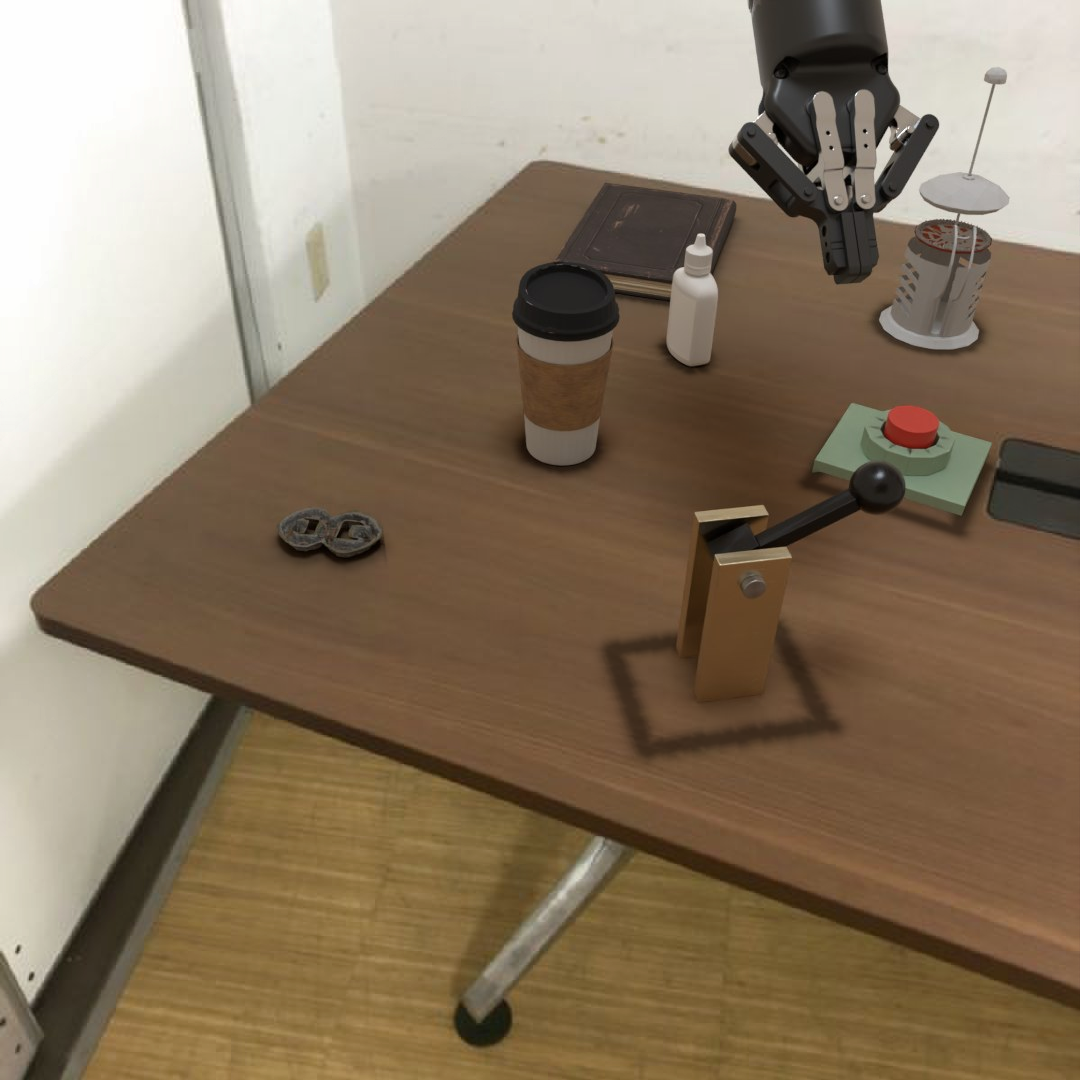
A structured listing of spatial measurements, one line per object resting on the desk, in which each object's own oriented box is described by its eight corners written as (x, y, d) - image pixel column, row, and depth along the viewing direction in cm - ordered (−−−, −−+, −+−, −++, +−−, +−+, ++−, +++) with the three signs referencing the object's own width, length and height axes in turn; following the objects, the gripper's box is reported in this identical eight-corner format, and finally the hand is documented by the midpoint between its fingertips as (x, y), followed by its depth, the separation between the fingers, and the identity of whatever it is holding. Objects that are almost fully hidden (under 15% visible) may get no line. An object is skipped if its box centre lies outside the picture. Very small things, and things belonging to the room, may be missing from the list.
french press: (973, 307, 116) (1047, 55, 100) (987, 363, 107) (1072, 96, 91) (876, 297, 117) (934, 47, 101) (882, 353, 108) (948, 87, 92)
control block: (985, 464, 94) (998, 424, 92) (957, 528, 87) (970, 487, 85) (846, 423, 99) (855, 384, 96) (810, 481, 92) (818, 441, 89)
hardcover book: (551, 283, 118) (552, 263, 117) (603, 200, 135) (604, 182, 134) (700, 306, 115) (703, 285, 114) (735, 218, 132) (737, 199, 131)
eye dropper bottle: (662, 365, 106) (674, 246, 98) (666, 336, 110) (678, 220, 102) (709, 370, 105) (724, 250, 98) (711, 340, 109) (726, 224, 102)
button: (939, 432, 91) (944, 413, 90) (927, 456, 89) (932, 437, 88) (891, 418, 93) (895, 400, 92) (877, 441, 90) (882, 423, 89)
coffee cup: (598, 414, 99) (608, 256, 89) (620, 470, 92) (633, 306, 83) (504, 422, 98) (504, 262, 88) (520, 479, 91) (521, 313, 82)
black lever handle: (897, 477, 68) (884, 440, 66) (920, 509, 65) (907, 472, 63) (718, 566, 70) (700, 534, 68) (734, 601, 67) (716, 568, 65)
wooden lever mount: (778, 626, 78) (810, 479, 70) (827, 722, 72) (868, 572, 64) (612, 646, 77) (625, 498, 68) (646, 747, 70) (664, 595, 62)
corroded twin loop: (289, 513, 87) (287, 502, 86) (390, 523, 86) (389, 512, 86) (269, 554, 83) (267, 543, 82) (374, 565, 82) (373, 554, 82)
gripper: (727, -34, 63) (769, 265, 61) (946, -40, 65) (992, 250, 63) (690, 39, 70) (727, 307, 69) (888, 32, 72) (927, 292, 71)
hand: (854, 279), depth 66 cm, fingers closed
